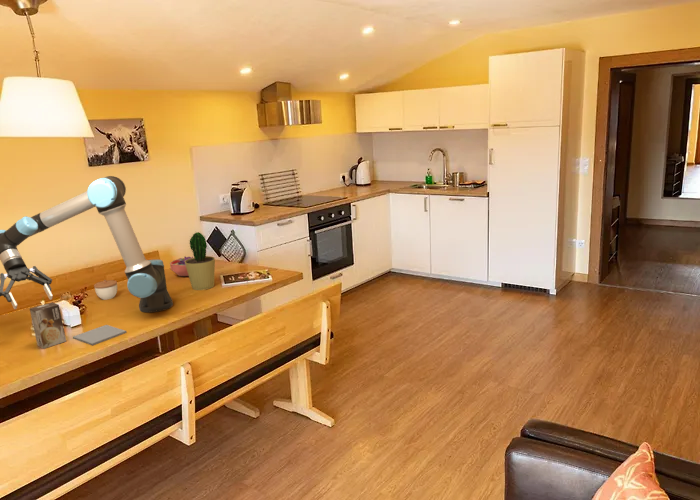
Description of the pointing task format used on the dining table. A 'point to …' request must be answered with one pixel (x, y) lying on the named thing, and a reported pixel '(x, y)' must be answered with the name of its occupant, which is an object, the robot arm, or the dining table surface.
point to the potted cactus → (200, 264)
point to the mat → (99, 334)
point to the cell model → (179, 266)
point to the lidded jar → (106, 289)
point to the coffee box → (48, 325)
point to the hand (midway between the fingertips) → (34, 302)
